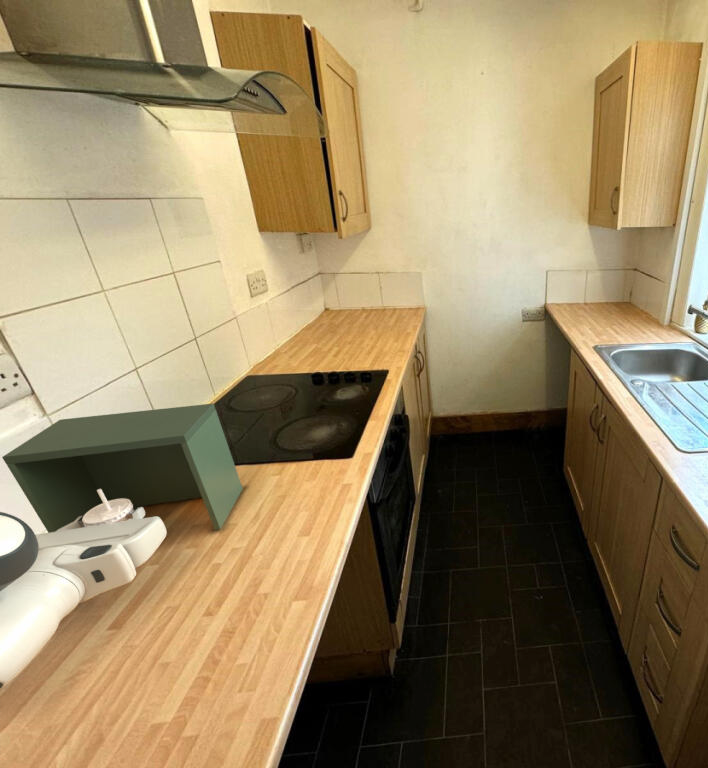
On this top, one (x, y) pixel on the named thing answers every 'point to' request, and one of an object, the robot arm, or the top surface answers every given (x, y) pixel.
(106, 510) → the smoothie
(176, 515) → the top surface
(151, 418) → the cupboard
